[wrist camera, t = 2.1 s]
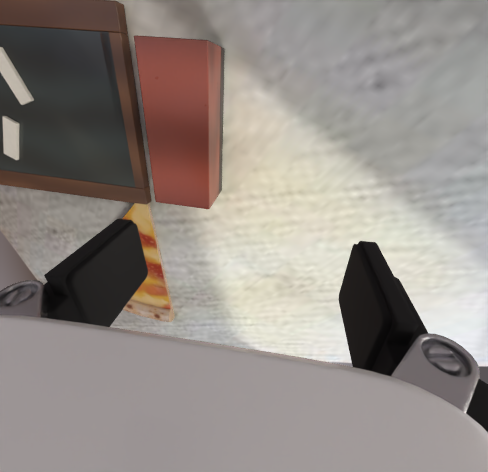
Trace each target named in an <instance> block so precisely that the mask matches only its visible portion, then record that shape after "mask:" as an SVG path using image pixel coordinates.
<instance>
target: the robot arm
mask: <svg viewBox="0 0 488 472" xmlns="http://www.w3.org/2000/svg"><path fill="white" fill-rule="evenodd" d="M147 275H148V268H147V264H146V260H145V256H144V252H143V248H142V244H141V239H140V235H139V231H138V227H137V225H136V224H135V223H134V222H133V221H132V220H127V219H117V220H115V221H114V222H113V223H112V224H110V225H109V226H108V227H106V228H105V229H104V230H102V231H101V232H100V233H99V234H97V235H96V236H95V237H93V238H92V239H91V240H89V241H88V242H87V243H86V244H84V245H83V246H82V247H80V248H79V249H78V250H76V251H75V252H74V253H73V254H71V255H70V256H69V257H67V258H66V259H65V260H63V261H62V262H61V263H60V264H58V265H57V266H56V267H54V268H53V269H52V270H50V271H49V272H48V273H47V274H45V275H44V276H45V278H46V280H47V281H48V282H47V283H46V284H45V285H43V283H42V282H40V281H37V280H27V281H22V282H18V283H15V284H12V285H10V286H8V287H6V288H4V289H3V290H1V291H0V472H488V384H486V383H485V382H483V381H481V380H480V379H479V375H480V369H479V367H478V364H477V362H476V361H475V360H474V358H473V357H472V356H471V354H470V353H469V352H467V351H466V350H465V349H464V348H463V347H462V346H460V345H459V344H457V343H456V342H454V341H452V340H450V339H448V338H446V337H444V336H440V335H437V334H428V332H427V330H426V328H425V326H424V324H423V323H422V321H421V319H420V317H419V315H418V313H417V312H416V310H415V308H414V306H413V304H412V302H411V300H410V299H409V297H408V295H407V293H406V291H405V289H404V288H403V286H402V284H401V282H400V281H399V279H398V278H396V277H394V276H393V274H392V272H391V270H390V268H389V266H388V264H387V262H386V260H385V259H384V257H383V255H382V253H381V251H380V249H379V247H378V245H377V244H376V243H375V242H365V241H360V242H359V243H358V244H354V245H353V248H352V251H351V255H350V258H349V262H348V265H347V269H346V272H345V276H344V279H343V283H342V286H341V290H340V293H339V304H340V308H341V313H342V318H343V323H344V327H345V332H346V337H347V341H348V346H349V351H350V355H351V360H352V365H353V367H350V366H346V365H340V364H335V363H329V362H323V361H318V360H312V359H307V358H301V357H295V356H289V355H283V354H277V353H271V352H265V351H258V350H252V349H246V348H240V347H234V346H228V345H221V344H215V343H209V342H202V341H196V340H190V339H183V338H177V337H171V336H164V335H158V334H151V333H145V332H138V331H132V330H125V329H119V328H112V327H110V325H111V324H112V323H113V321H114V320H115V319H116V317H117V316H118V315H119V313H120V312H121V311H122V309H123V308H124V307H125V306H126V304H127V303H128V302H129V300H130V299H131V298H132V296H133V295H134V294H135V292H136V291H137V290H138V288H139V287H140V286H141V284H142V283H143V282H144V280H145V279H146V278H147Z"/></svg>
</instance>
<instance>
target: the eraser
mask: <svg viewBox="0 0 488 472" xmlns="http://www.w3.org/2000/svg"><path fill="white" fill-rule="evenodd" d="M134 41H135V48H136V56H137V63H138V71H139V78H140V86H141V94H142V101H143V109H144V116H145V124H146V132H147V139H148V147H149V154H150V162H151V170H152V177H153V185H154V192H155V200H156V202H160V203H167V204H175V205H182V206H189V207H196V208H204V209H210V207H211V206H212V204H213V203H214V201H215V200H216V198H217V197H218V195H219V193H220V192H221V190H222V144H223V95H224V48H222V47H220V46H218V45H216V44H214V43H212V42H210V41H208V40H196V39H181V38H165V37H150V36H134Z"/></svg>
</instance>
